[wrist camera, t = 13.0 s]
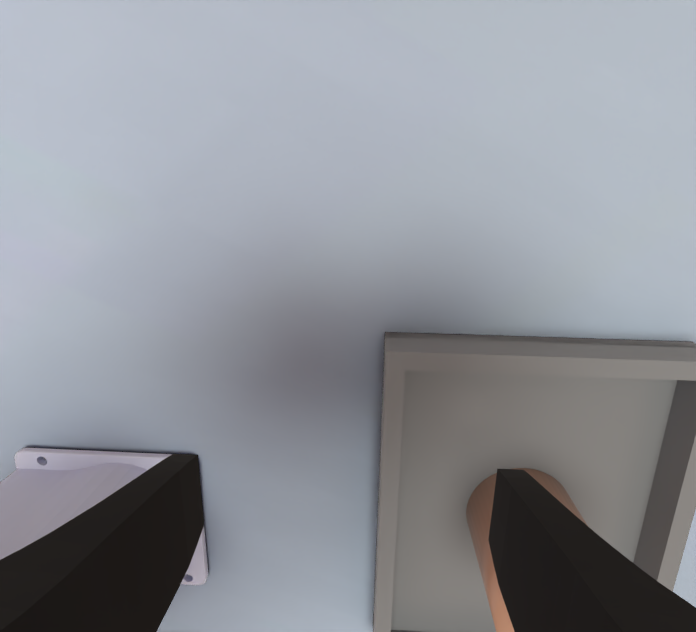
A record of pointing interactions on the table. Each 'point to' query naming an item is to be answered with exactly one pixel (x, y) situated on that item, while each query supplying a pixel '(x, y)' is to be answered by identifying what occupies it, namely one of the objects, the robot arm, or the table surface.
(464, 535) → the tray
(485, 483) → the cup
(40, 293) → the table surface
